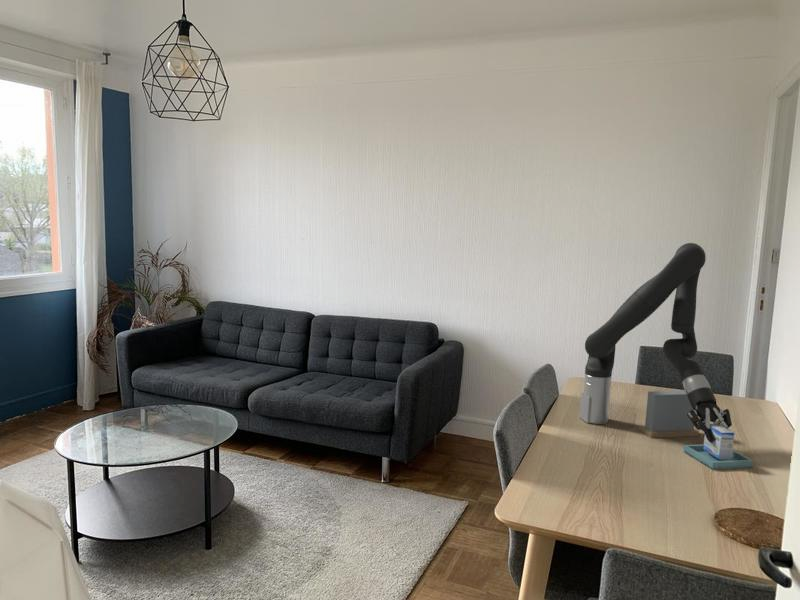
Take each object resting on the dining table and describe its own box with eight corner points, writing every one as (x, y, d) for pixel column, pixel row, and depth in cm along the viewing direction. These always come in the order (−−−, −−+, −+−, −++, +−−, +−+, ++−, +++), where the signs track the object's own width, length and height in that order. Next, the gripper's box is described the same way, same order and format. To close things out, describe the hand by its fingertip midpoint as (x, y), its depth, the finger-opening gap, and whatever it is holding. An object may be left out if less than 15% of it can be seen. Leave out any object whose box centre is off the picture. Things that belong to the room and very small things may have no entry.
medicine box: (702, 449, 187) (705, 423, 186) (715, 449, 188) (718, 423, 186) (718, 460, 179) (721, 432, 178) (732, 459, 180) (735, 432, 179)
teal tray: (712, 469, 176) (712, 462, 175) (683, 451, 189) (683, 445, 189) (752, 467, 178) (753, 460, 178) (721, 450, 191) (721, 443, 191)
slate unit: (651, 437, 201) (654, 396, 199) (639, 430, 208) (643, 390, 206) (698, 435, 204) (702, 395, 202) (685, 428, 211) (689, 389, 209)
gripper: (684, 386, 188) (706, 437, 178) (725, 385, 190) (748, 435, 180) (673, 397, 194) (693, 447, 184) (712, 396, 196) (734, 445, 186)
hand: (720, 441), depth 182 cm, fingers closed on medicine box, 4 cm apart
